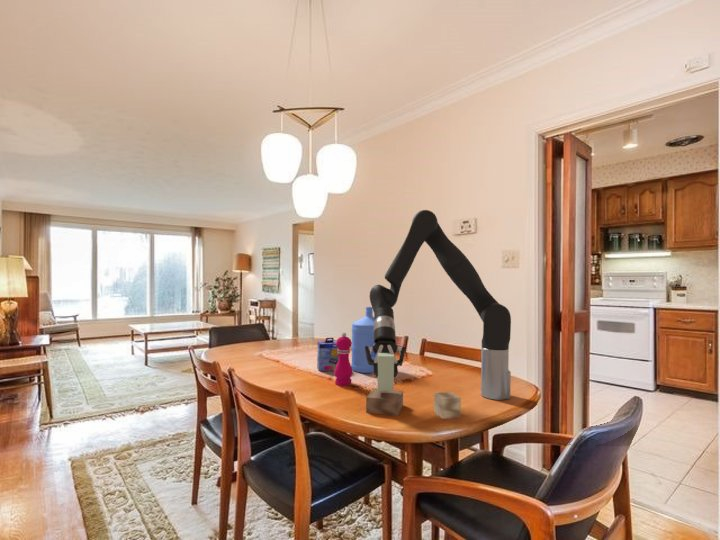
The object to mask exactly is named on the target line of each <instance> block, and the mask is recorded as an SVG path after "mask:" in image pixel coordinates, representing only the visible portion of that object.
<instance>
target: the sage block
mask: <svg viewBox="0 0 720 540" xmlns="http://www.w3.org/2000/svg"><path fill="white" fill-rule="evenodd" d="M376 378H377V381H376V382H377V383H376V386H377V387H376V388H377V389H378V391H394V390H395V388H394V387H395V386H394V385H395V383H394V382H395V381H394V380H395V377H394V355H393V353H378V377H376Z"/></svg>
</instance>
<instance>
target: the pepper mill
mask: <svg viewBox="0 0 720 540" xmlns="http://www.w3.org/2000/svg"><path fill="white" fill-rule="evenodd" d="M336 341H337V342H336V345H337V347H338V353H339V359H338V363H337V365H336V367H335V370H333V373H334V376H335V377H336V378H335V385H337V386H340V387H347V386H350V385H352V378H351V377H352V376H353V375H354V374H353V373H354V372H353V371H354V370H352V367H351V363H350V353H351V346H352V339H351V338H350V337H348V336H347V333H346V332H342V333H341V336H340V337H338V339H337V340H336Z"/></svg>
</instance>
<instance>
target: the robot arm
mask: <svg viewBox="0 0 720 540" xmlns="http://www.w3.org/2000/svg"><path fill="white" fill-rule="evenodd" d="M424 243H426V244H427V246H429V248H430V249H431V250H432V252H433V253H434V255H435V257H436V259H437V260H438V263H439V264H440V265H441V267H442V269H443V270H444V272H445V273H446V275H447V276H448V277H449V278H450V280H451V281H452V282H453V283H454V284H455V286H456V287H457V288H458V290H460V292H461V293H462V294H463V295H465V296H466V298H467V299H468V300H469V301H470V303H471V305H473V307H474V310H475V311H476V312H477V313H478V316H479V317H480V319H481V321H482V323H483V324H482V325H483V326H482V330H483V331H482V338H481V354H480V355H481V360H480V361H481V362H480V363H481V365H480V366H481V367H480V368H481V369H480V371H481V372H480V373H481V374H480V375H481V376H480V396H482V397H483V398H486V399H490V400H494V401H495V400H496V401H498V400H499V401H501V400H507V399H509V400H510V399H511V383H512V382H511V381H512V380H511V379H512V378H511V377H512V376H511V373H512V372H511V371H510V370H509V368H510V367H509V364H510V363H509V359H510V358H509V357H510V356H509V355H510V353H509V351H510V341H511V330H512V328H511V327H512V325H511V324H512V316H511V312H510V310H509V309H508V308H507V307H506V306H505V305H503V304H501V303H499V302H498V300H496V299H495V298H494V297H493V296H492V294H491V293H490V292H489V291H488V289H487V288H486V286H485V285H484V283H483V281H482V279H481V277H480V275H479V272H478V271H477V270H476V268H475V267H474V265H473V264H472V263H471V261H470V260H469V259H468V258H467V256H466V255H465V253H463V251H461V249H460V248H459V247H458V246H456V245H455V244H454V243H453V242H452V241H451V240H450V239H449V237H448V236H447V235H446V233H445V232H444V230H443V229H442V227H441V226H440V223H439V222H438V218H437V215H436V214H435V213H434V212H433V211H431V210H427V209H423V210H419V211H418V212H417V213H415V214H414V216H413V218H412V220H411V224H410V227H409V230H408V233H407V235H406V237H405V239H404V242H403V243H402V245H401V247H400V249H399V250H398V252H397V254H396V255H395V257H394V258H393V260H392V262H391V264H390V265H389V267H388V269H387V271H386V272H385V275H384V279H385V280H386V281H387V282H388V283H389V284H390V288H387V287H386V286H384V285H381V284H375V285H373V287H371V289H370V291H369V301H370V305H371V307H372V308H373V309H372V311H373V314H374V315H373V317H374V331H373V332H374V344H373V346H372V347H368V346H366V347H365V354H366V358H367V361H368V364H369V365H373V366H374V373H373V375H374V376H375V378H377V377H378V353H393V355H394V378H396V377H397V376H398V370H399V369H398V367H399V366H400V367H401V366H403V363H404V358H405V353H406V349H407V348H406V347H405V346H402V347H399V346H398V345H397V338H396V325H395V318H394V317H395V316H394V309H393V307H394V306H395V305H396V304H397V302H398V298H399V295H400V291H401V287H402V284H403V282H404V280H405V278H406V277H407V275H408V273H409V271H410V269H411V267H412V265H413V263H414V261H415V259H416V256H417V254H418V252H420V251H419V250H420V249H421V247H422V246H423V245H424ZM372 350H373V351H374V352H375V354H376V357H375V360H372V358H371V353H372ZM397 352H398V354H399V359H397V358H396V355H395V354H396V353H397Z"/></svg>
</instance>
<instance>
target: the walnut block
mask: <svg viewBox="0 0 720 540" xmlns="http://www.w3.org/2000/svg"><path fill="white" fill-rule="evenodd" d="M365 403H366V404H365V413H366V414H367V413H368V414H377V415H385V416H394V417H398V416H399V415H400V413H401V410H402V409H403V406H404V390H396V389H394V391H378V389H377V387H376V388H375V387H374V388H372V390H371V391H370V392H369V393H368V395H367V396H366V401H365Z"/></svg>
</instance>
